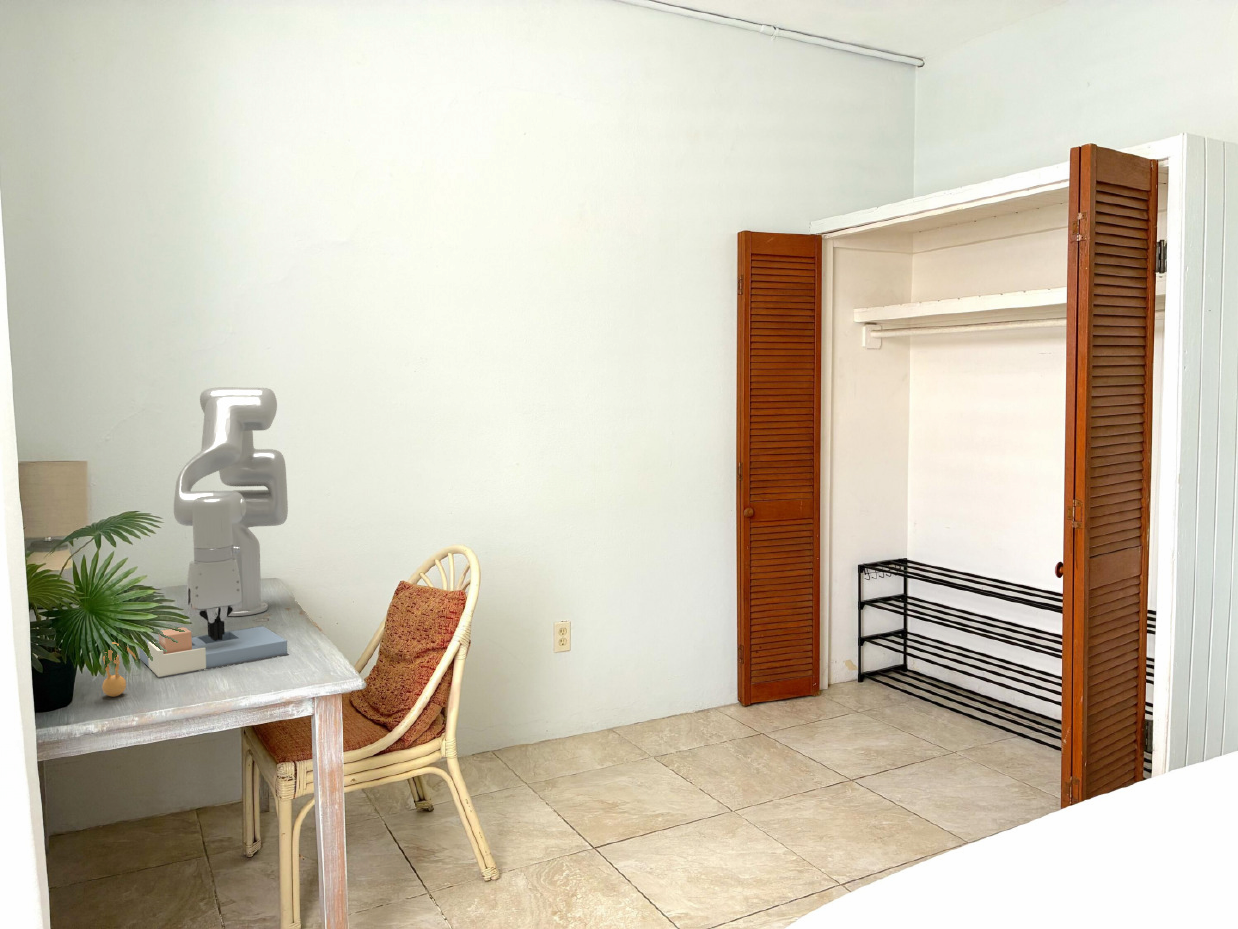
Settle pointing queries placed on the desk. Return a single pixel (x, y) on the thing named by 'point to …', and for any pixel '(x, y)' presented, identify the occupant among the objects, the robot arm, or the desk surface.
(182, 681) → the desk surface
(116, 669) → the figurine
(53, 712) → the desk surface
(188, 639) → the cube
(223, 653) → the slotted holder block
